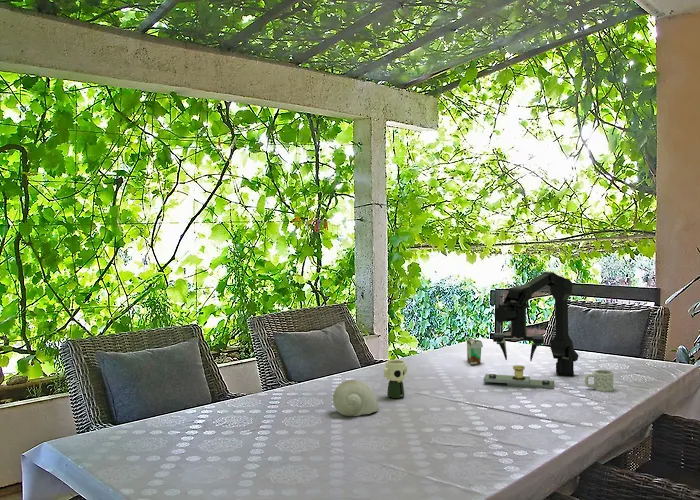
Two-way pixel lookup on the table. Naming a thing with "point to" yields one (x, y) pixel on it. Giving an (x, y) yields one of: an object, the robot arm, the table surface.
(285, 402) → the table surface
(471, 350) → the food container
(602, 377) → the mug
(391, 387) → the character mug
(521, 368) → the brass pin
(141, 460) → the table surface
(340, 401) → the seashell
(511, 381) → the plate with square hole
